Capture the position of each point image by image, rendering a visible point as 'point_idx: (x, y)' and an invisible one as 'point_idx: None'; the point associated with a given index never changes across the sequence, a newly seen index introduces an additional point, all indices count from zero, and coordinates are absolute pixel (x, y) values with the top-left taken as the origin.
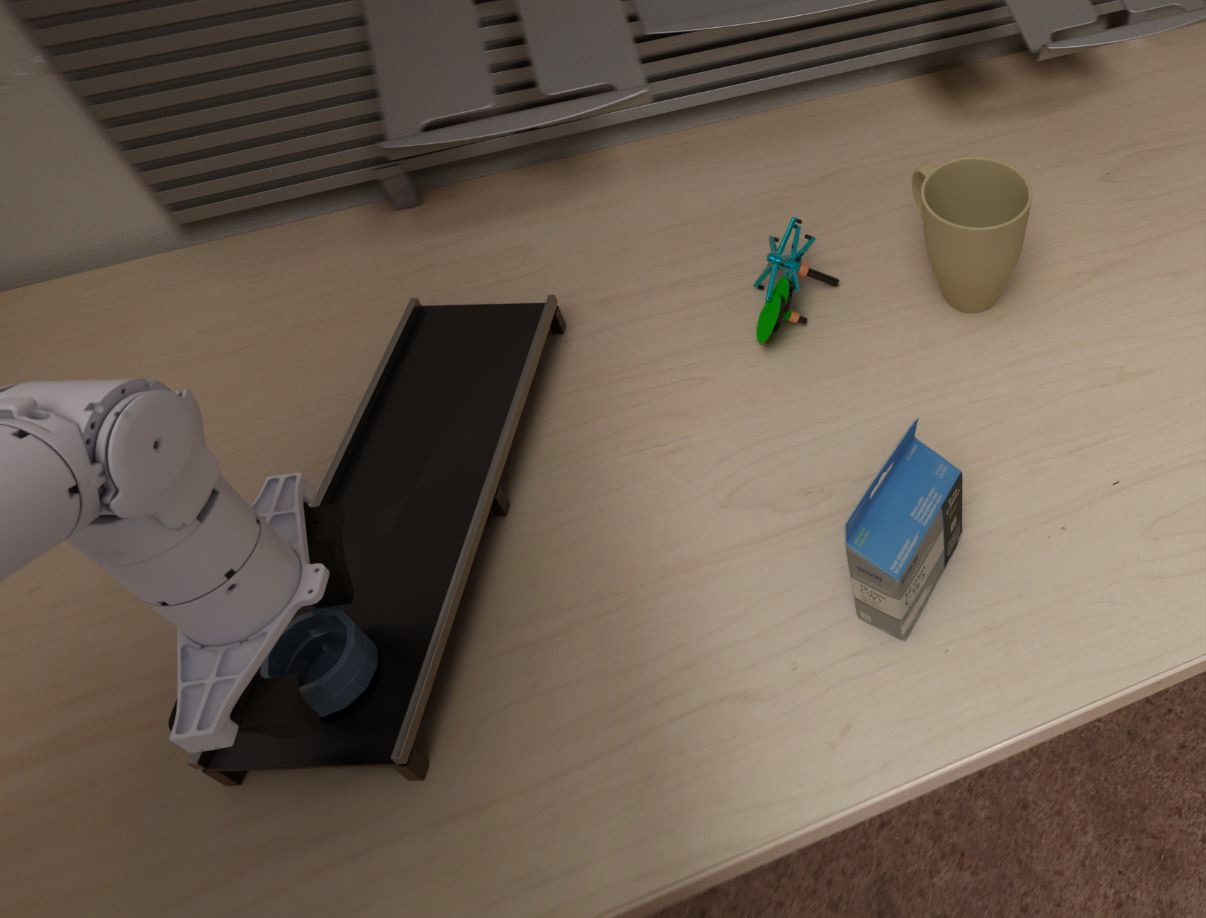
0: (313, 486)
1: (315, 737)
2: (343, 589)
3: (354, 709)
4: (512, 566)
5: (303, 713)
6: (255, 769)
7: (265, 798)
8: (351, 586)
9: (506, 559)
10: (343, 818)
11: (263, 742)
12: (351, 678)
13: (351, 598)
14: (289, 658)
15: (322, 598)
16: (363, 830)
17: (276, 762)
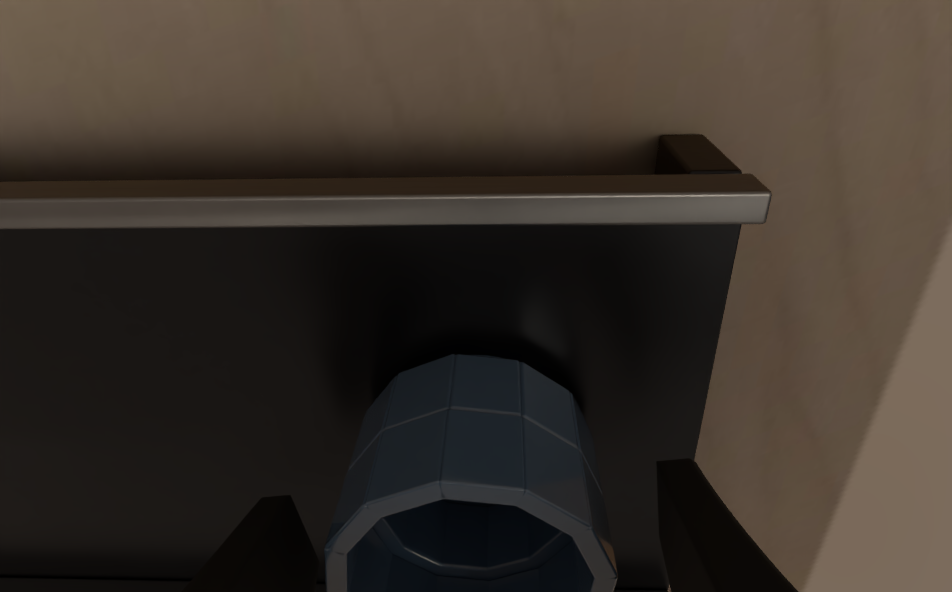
0: None
1: (631, 428)
2: (253, 564)
3: (566, 367)
4: (85, 74)
5: (759, 584)
6: None
7: None
8: (238, 534)
9: (70, 101)
10: (754, 294)
11: (626, 519)
12: (529, 425)
13: (276, 508)
14: (463, 575)
15: (293, 588)
16: (793, 242)
17: None
